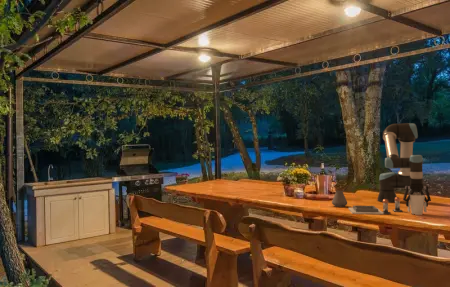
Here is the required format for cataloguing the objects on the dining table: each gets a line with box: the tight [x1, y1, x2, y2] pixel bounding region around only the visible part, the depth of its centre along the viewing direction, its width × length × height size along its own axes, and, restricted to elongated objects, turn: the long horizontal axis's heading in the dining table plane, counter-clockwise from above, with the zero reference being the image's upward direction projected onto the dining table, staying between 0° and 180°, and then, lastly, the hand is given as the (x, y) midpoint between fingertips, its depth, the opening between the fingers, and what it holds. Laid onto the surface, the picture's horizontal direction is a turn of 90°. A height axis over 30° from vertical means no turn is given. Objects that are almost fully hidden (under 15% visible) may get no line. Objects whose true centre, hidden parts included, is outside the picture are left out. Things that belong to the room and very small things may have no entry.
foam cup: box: [408, 193, 426, 216], centre depth 251 cm, size 10×9×13 cm
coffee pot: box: [331, 184, 351, 208], centre depth 291 cm, size 21×12×15 cm, turn 134°
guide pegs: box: [382, 196, 403, 216], centre depth 258 cm, size 6×20×10 cm, turn 124°
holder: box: [347, 205, 385, 215], centre depth 263 cm, size 20×20×3 cm
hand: (417, 211), depth 251 cm, fingers closed on foam cup, 9 cm apart
